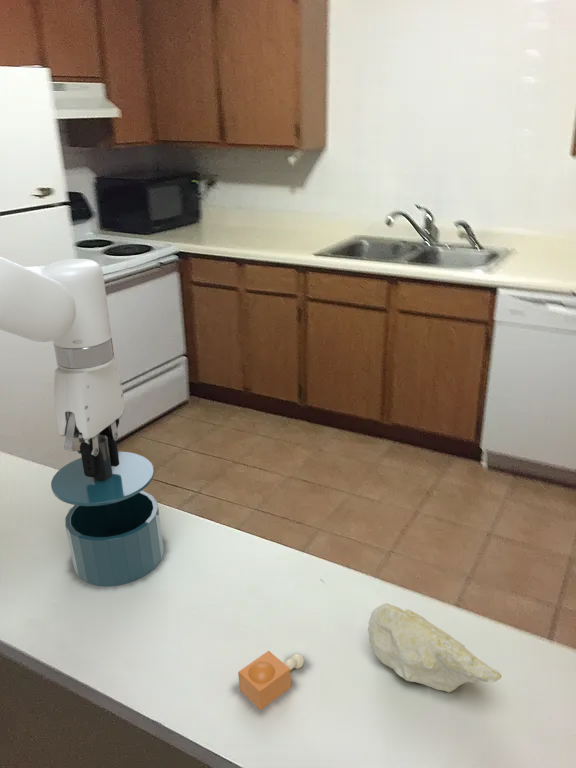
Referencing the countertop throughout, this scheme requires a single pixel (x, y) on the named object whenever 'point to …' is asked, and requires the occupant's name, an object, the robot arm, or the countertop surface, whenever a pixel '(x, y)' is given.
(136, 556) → the pot
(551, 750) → the countertop surface
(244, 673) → the orange knobbed cube
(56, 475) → the lid
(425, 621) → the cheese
